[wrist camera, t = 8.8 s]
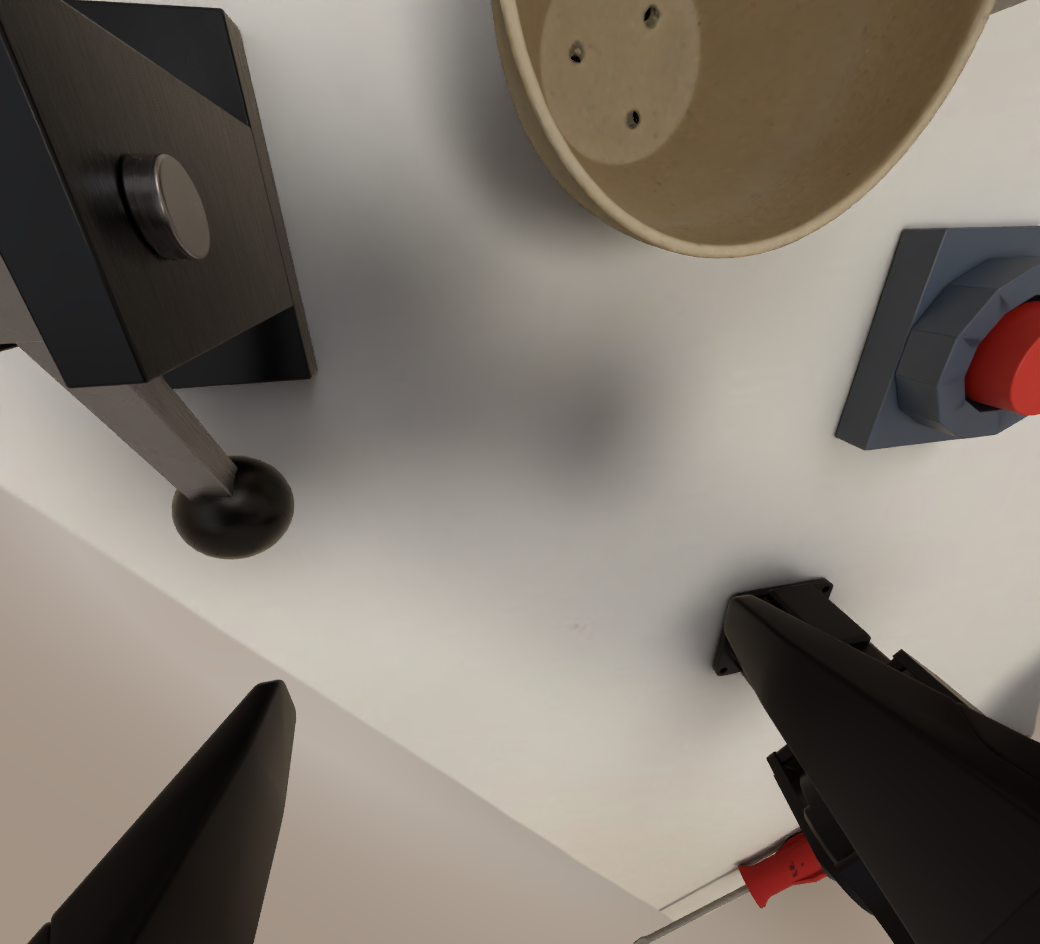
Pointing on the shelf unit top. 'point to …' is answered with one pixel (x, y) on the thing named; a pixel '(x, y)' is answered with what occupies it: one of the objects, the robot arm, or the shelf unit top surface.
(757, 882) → the screwdriver
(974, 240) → the button block
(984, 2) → the bowl
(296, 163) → the shelf unit top surface
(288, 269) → the switch bracket
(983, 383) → the button
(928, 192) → the shelf unit top surface
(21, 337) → the switch lever
